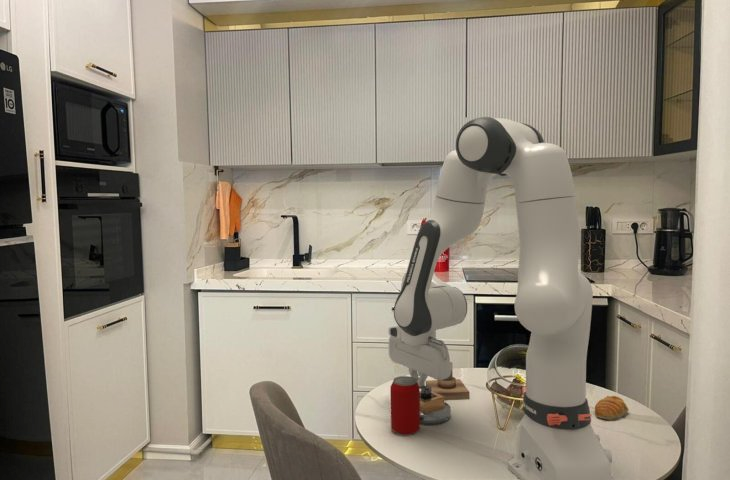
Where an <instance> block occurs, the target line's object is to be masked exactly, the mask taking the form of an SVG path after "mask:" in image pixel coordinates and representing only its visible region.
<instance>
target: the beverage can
mask: <svg viewBox="0 0 730 480" xmlns="http://www.w3.org/2000/svg"><path fill="white" fill-rule="evenodd" d="M420 391H421V389H420V387H419V385H418V383H417V381H416V379H415V378H413V377H411V376H409V375H408V376H406V375H401V376H397V377H394V378H393V381H392V384H391V385H390V428H391V430H392V431H393V432H395V433H396V434H398V435H402V436H412V435H413V434H415V433H416V432H418V431H419V430H420V429H421V425H420Z"/></svg>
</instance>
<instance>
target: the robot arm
mask: <svg viewBox="0 0 730 480" xmlns="http://www.w3.org/2000/svg"><path fill="white" fill-rule="evenodd" d="M497 175H499V176H500V177H504V176H505V177H506V176H508V177H509V178H510V179H511V181H512V184H513V188H514V197H515V207H516V216H517V218H516V219H517V226H518V227H517V228H518V235H519V236H518V237H519V254H518V255H519V257H518V258H519V259H518V272H517V291H516V296H515V300H514V313H515V316H516V318H517V320H518V321H519V323H520V325H522V326H523V327H524V328H525V329H526V330H527V331H529V332H531V333H530V337H529V343H528V346H527V351H526V354H525V391H524V392H523V399H522V407H523V408H522V411H523V413H524V414H523V416H522V418H521V420H520V421H519V423H518V424H517V425H516V429H515V430H516V431H515V442H514V456H513V457H512V458H511V459H509V460H508V461H507V468H508V469H509V470H510V471H511V472H512V473H513V474H514V475H515V476H516V477H517V478H519V480H615V478H614V477H613V475H612V468H611V464H612V462H613V454H612V451H611V450H610V449H604V448H603V446H602V445H601V442H600V441H601V439H600V438H601V437H600V436H599V434H596V432H595V430H594V427H593V426H592V424H591V422H592V418H591V416H592V414H591V410H590V409H591V408H590V406H589V400H588V398H587V396H586V394H587V393H586V390H587V386H586V385H587V384H586V383H587V381H586V380H587V357H588V348H589V347H588V346H589V340H590V333H591V332H590V331H591V323H592V322H591V321H592V311H593V296H594V294H593V293H594V291H593V287H592V285H591V283H590V281H589V280H588V278H587V277H586V276H585V275H584V274H583V273H582V272H580V271H579V251H580V249H579V248H580V241H581V234H580V224H579V215H578V213H579V212H578V204H577V196H576V190H575V183H574V178H573V173H572V170H571V166H570V162H569V159H568V155H567V154H566V151H565V150H564V148H562V147H561V146H559V145H557V144H555V143H551V142H545V140H544V138H543V136H542V133H541V132H539V131H538V129H537V128H535V127H534V126H533V125H530V124H527V123H523V122H518V121H515V120H512V119H509V118H502V117H500V118H499V117H490V116H482V117H477V118H473V119H471V120H469V121H468V122H466V123H465V124H464V125H462V127H461V128H460V130H459V132H458V133H457V136H456V139H455V149H454V150H452V151H450V152H449V153H448V154H447V155H446V156H445V158H444V161H443V164H442V167H441V170H440V174H439V177H438V180H437V185H436V192H435V197H434V202H433V206H432V209H431V211H430V214H429V215H428V218H427V219H426V221H425V222H424V223H423V224H422V225H421V226H420V228H419V230H418V233H417V234H416V237H415V241H414V244H413V247H412V251H411V255H410V258H409V262H408V266H407V270H406V273H404V274H403V275H402V281H401V287H400V291H399V294H398V296H397V297H396V300H395V303H394V307H393V317H394V320H395V323H396V324H397V325H394V326H389V327H388V329H387V330H388V335H389V337H388V356H389V358H390V361H391V362H394V363H396V364H399V365H402V366H404V367H406V368H408V373H409V375H410V376H409V377H413V378H415V379H416V381H417V383H418V385H419V387H420V390H421V387H422V386H426V381H427V378H428V377H430V378H432V379H433V380H443V379H446V378H448V377H449V376H450V374H451V367H450V362H451V359H450V353H449V349H448V346H447V345H446V344H445V342H444V340H441V339H437V330H442V329H445V328H450V327H453V326H454V327H455V326H457V325H459V324H461V323H463V322H464V321H465V318H466V316H467V314H468V301H467V298H466V295H465V294H464V293H463V291H461V290H460V289H459V288H458V287H456V286H452V285H450V284H448V283H446V282H444V281H443V280H441V279H440V278H439V277H437V275H436V273H435V269H436V266H437V263H438V260H440V258H441V256H442V254H443V253H444V252H445V251H446V250H448V249H449V248H450V247H451V246H453V245H455V244H457V243H458V242H460V241H462V240H465V239H466V238H468V237H469V236H472V234H473V233H474V232H476V230H477V229H478V228H479V226H480V224H481V222H482V218H483V216H484V211H485V204H486V198H487V191H488V186H489V183H490V181H492V179H493V178H494V177H495V176H497Z"/></svg>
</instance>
